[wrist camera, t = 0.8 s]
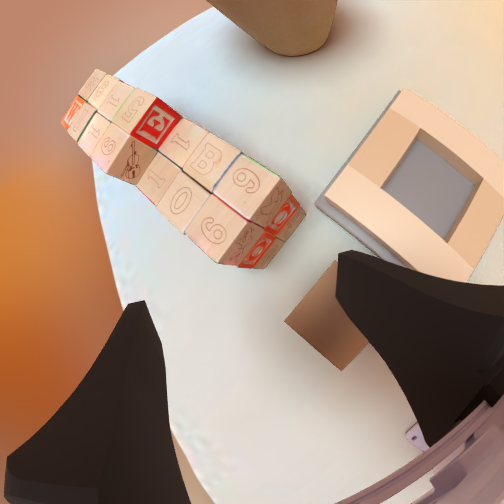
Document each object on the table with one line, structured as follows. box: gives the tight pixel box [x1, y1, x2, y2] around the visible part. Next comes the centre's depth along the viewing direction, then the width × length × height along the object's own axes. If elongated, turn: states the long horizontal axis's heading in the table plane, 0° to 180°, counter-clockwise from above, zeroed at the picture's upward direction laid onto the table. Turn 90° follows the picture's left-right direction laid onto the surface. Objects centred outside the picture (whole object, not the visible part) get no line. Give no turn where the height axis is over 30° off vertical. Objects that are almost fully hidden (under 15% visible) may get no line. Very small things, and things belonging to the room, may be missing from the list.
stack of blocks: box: [61, 69, 306, 269], centre depth 22 cm, size 21×6×12 cm, turn 51°
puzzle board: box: [314, 87, 504, 283], centre depth 19 cm, size 14×14×3 cm
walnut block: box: [284, 261, 369, 371], centre depth 19 cm, size 5×5×6 cm
